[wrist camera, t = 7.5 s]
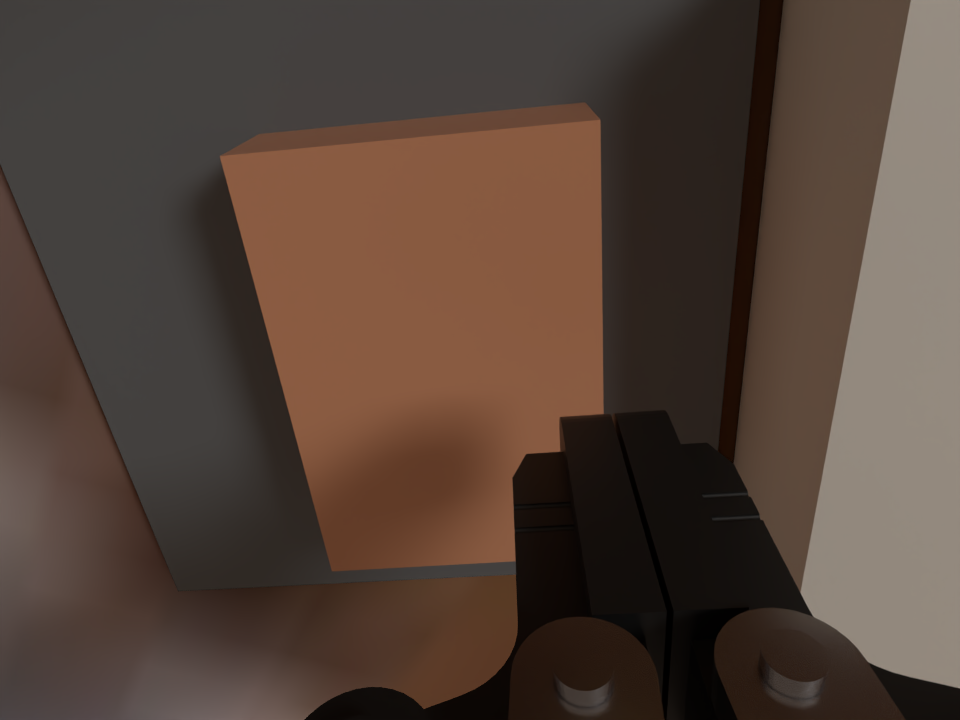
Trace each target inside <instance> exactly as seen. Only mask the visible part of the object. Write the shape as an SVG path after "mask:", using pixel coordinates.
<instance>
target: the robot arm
mask: <svg viewBox="0 0 960 720" xmlns="http://www.w3.org/2000/svg"><path fill="white" fill-rule="evenodd" d="M559 433H560V452H548V453H531V454H526V455H525V457H524V458H523V460H522V462H521V464H520V465H519V467H518V469H517V471H516V472H515V474H514V476H513V477H512V481H513V506H514V530H515V559H516V585H517V610H518V634H517V638H516V642H515V646H514V648H513V650H512V653H511V655H510V657H509V658H508V660H507V661H506V663H505V664H504V666H503V667H502V668H501V669H500V670H499V671H498V672H497V673H496V674H495V675H494V676H493V677H492V678H491V679H490V680H488V681H487V682H486V683H484V684H483V685H481V686H480V687H478V688H476V689H475V690H473V691H470V692H468V693H466V694H464V695H461V696H459V697H456V698H453V699H450V700H448V701H445V702H442V703H440V704H437V705H434V706H431V707H429V708H426V709H423V708H422V707H421V706H420V705H419V704H418V703H417V702H416V701H415V700H414V699H412V698H410V697H409V696H407V695H405V694H404V693H401V692H398V691H396V690H393V689H388V688H382V687H367V688H361V689H355V690H352V691H349V692H345V693H343V694H341V695H338V696H336V697H334V698H332V699H330V700H329V701H327V702H326V703H324V704H322V705H321V706H319V707H318V708H317V709H316V710H315V711H314V712H312V713H311V714H310V715H309V716H308V717H307V718H306V719H305V720H960V688H956V687H952V686H947V685H943V684H939V683H934V682H930V681H925V680H921V679H917V678H912V677H908V676H904V675H901V674H897V673H894V672H890V671H888V670H885V669H883V668H880V667H877V666H875V665H873V664H871V663H869V662H867V660H866V659H865V657H864V656H863V655H862V653H861V652H860V651H859V650H858V648H857V647H856V646H855V645H854V644H853V643H852V642H851V641H850V640H849V639H848V638H847V637H845V636H844V635H843V634H841V633H840V632H839V631H838V630H836V629H835V628H833V627H831V626H830V625H828V624H827V623H825V622H823V621H821V620H819V619H817V618H814V617H813V615H812V613H811V612H810V610H809V608H808V606H807V605H806V603H805V601H804V599H803V597H802V595H801V593H800V591H799V589H798V587H797V585H796V583H795V581H794V579H793V577H792V576H791V574H790V572H789V570H788V568H787V566H786V564H785V562H784V560H783V558H782V556H781V554H780V552H779V550H778V548H777V547H776V545H775V543H774V541H773V539H772V537H771V535H770V533H769V531H768V529H767V527H766V525H765V523H764V521H763V520H760V514H759V512H758V510H757V508H756V506H755V504H754V502H753V500H752V498H751V497H749V496H748V490H747V489H746V487H745V485H744V483H743V481H742V479H741V477H740V475H739V473H738V471H737V469H736V467H735V465H734V464H733V463H732V462H731V461H729V460H728V459H727V458H726V457H724V456H723V455H722V454H721V453H719V452H718V451H717V450H716V449H714V448H713V447H712V446H711V445H709V444H708V443H690V444H680V441H679V439H678V436H677V434H676V432H675V429H674V427H673V425H672V422H671V420H670V417H669V415H668V413H667V412H666V411H665V410H655V411H640V412H624V413H613V416H611V414H596V415H581V416H565V417H560V418H559Z"/></svg>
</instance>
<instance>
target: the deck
mask: <svg viewBox="0 0 960 720" xmlns="http://www.w3.org/2000/svg"><path fill="white" fill-rule="evenodd" d="M734 465H735V467H736V469H737V471H738V473H739V475H740V477H741V479H742V481H743V483H744V485H745V487H746V489H747V490H748V496H749V497H751V498H752V500H753V502H754V504H755V506H756V508H757V510H758V512H759V514H760V520H763V521H764V523H765V525H766V527H767V529H768V531H769V533H770V535H771V537H772V539H773V541H774V543H775V545H776V547H777V548H778V550H779V552H780V554H781V556H782V558H783V560H784V562H785V564H786V566H787V568H788V570H789V572H790V574H791V576H792V577H793V579H794V581H795V583H796V585H797V587H798V589H799V591H800V593H801V595H802V597H803V599H804V601H805V603H806V605H807V606H808V608H809V610H810V612H811V613H812V615H813V617H814V618H817V619H819V620H821V621H823V622H825V623H827V624H828V625H830V626H831V627H833V628H835V629H836V630H838V631H839V632H840V633H841V634H843V635H844V636H845V637H847V638H848V639H849V640H850V641H851V642H852V643H853V644H854V645H855V646H856V647H857V648H858V650H859V651H860V652H861V653H862V655H863V656H864V657H865V659H866V660H867V662H869V663H871V664H873V665H875V666H877V667H880V668H883V669H885V670H888V671H890V672H894V673H897V674H901V675H904V676H908V677H912V678H917V679H921V680H925V681H930V682H934V683H939V684H943V685H947V686H952V687H956V688H960V0H784V1H783V10H782V19H781V29H780V38H779V47H778V57H777V66H776V75H775V84H774V94H773V103H772V112H771V121H770V131H769V140H768V149H767V158H766V168H765V177H764V186H763V195H762V205H761V214H760V223H759V233H758V242H757V251H756V260H755V270H754V279H753V288H752V297H751V307H750V316H749V325H748V334H747V344H746V353H745V362H744V371H743V381H742V390H741V399H740V409H739V418H738V427H737V436H736V446H735V455H734Z"/></svg>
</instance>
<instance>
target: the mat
mask: <svg viewBox="0 0 960 720" xmlns="http://www.w3.org/2000/svg"><path fill="white" fill-rule="evenodd" d="M759 6H760V0H0V165H1V167H2V170H3V172H4V174H5V177H6V179H7V182H8V184H9V186H10V189H11V191H12V194H13V196H14V198H15V201H16V203H17V206H18V208H19V210H20V213H21V215H22V218H23V220H24V222H25V225H26V227H27V230H28V232H29V234H30V237H31V239H32V242H33V244H34V246H35V249H36V251H37V254H38V256H39V258H40V261H41V263H42V266H43V268H44V270H45V273H46V275H47V278H48V280H49V282H50V285H51V287H52V290H53V292H54V294H55V297H56V299H57V302H58V304H59V306H60V309H61V311H62V314H63V316H64V318H65V321H66V323H67V326H68V328H69V330H70V333H71V335H72V338H73V340H74V342H75V345H76V347H77V350H78V352H79V354H80V357H81V359H82V362H83V364H84V366H85V369H86V371H87V374H88V376H89V378H90V381H91V383H92V386H93V388H94V391H95V393H96V395H97V398H98V400H99V403H100V405H101V407H102V410H103V412H104V415H105V417H106V419H107V422H108V424H109V427H110V429H111V431H112V434H113V436H114V439H115V441H116V443H117V446H118V448H119V451H120V453H121V455H122V458H123V460H124V463H125V465H126V467H127V470H128V472H129V475H130V477H131V479H132V482H133V484H134V487H135V489H136V491H137V494H138V496H139V499H140V501H141V503H142V506H143V508H144V511H145V513H146V515H147V518H148V520H149V523H150V525H151V527H152V530H153V532H154V535H155V537H156V539H157V542H158V544H159V547H160V549H161V551H162V554H163V556H164V559H165V561H166V563H167V566H168V568H169V571H170V573H171V575H172V578H173V580H174V583H175V585H176V587H177V590H178V591H192V590H212V589H232V588H253V587H273V586H293V585H313V584H333V583H353V582H373V581H393V580H413V579H433V578H453V577H473V576H493V575H513V574H516V561H512V562H494V563H476V564H458V565H440V566H422V567H403V568H385V569H367V570H349V571H332V570H331V566H330V562H329V559H328V555H327V551H326V548H325V544H324V540H323V537H322V533H321V529H320V525H319V522H318V518H317V514H316V511H315V507H314V503H313V500H312V496H311V492H310V488H309V485H308V481H307V477H306V474H305V470H304V466H303V463H302V459H301V455H300V451H299V448H298V444H297V440H296V437H295V433H294V429H293V425H292V422H291V418H290V414H289V411H288V407H287V403H286V400H285V396H284V392H283V388H282V385H281V381H280V377H279V374H278V370H277V366H276V363H275V359H274V355H273V351H272V348H271V344H270V340H269V337H268V333H267V329H266V326H265V322H264V318H263V314H262V311H261V307H260V303H259V300H258V296H257V292H256V289H255V285H254V281H253V277H252V274H251V270H250V266H249V263H248V259H247V255H246V252H245V248H244V244H243V240H242V237H241V233H240V229H239V226H238V222H237V218H236V214H235V211H234V207H233V203H232V200H231V196H230V192H229V189H228V185H227V181H226V177H225V174H224V170H223V166H222V163H221V159H220V156H221V155H223V154H224V153H226V152H228V151H230V150H232V149H233V148H235V147H237V146H239V145H240V144H242V143H244V142H246V141H248V140H249V139H251V138H253V137H255V136H256V135H258V134H265V133H275V132H286V131H296V130H306V129H316V128H327V127H337V126H347V125H357V124H368V123H378V122H388V121H398V120H409V119H419V118H429V117H439V116H450V115H460V114H470V113H480V112H491V111H501V110H511V109H521V108H532V107H542V106H552V105H562V104H573V103H583V102H585V103H586V104H587V105H588V106H589V107H590V108H591V110H592V111H593V112H594V113H595V114H596V115H597V116H598V117H599V119H600V125H601V219H602V313H603V407H604V414H611V416H613V413H624V412H640V411H655V410H665V411H666V412H667V413H668V415H669V417H670V420H671V422H672V425H673V427H674V429H675V432H676V434H677V436H678V439H679V441H680V444H690V443H708V444H709V445H711V446H712V447H713V448H714V449H716V450H717V451H718V445H719V434H720V424H721V413H722V402H723V392H724V381H725V370H726V359H727V349H728V338H729V327H730V317H731V306H732V295H733V285H734V274H735V263H736V252H737V242H738V231H739V220H740V210H741V199H742V188H743V178H744V167H745V156H746V145H747V135H748V124H749V113H750V103H751V92H752V81H753V71H754V60H755V49H756V39H757V28H758V17H759Z"/></svg>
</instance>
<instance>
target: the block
mask: <svg viewBox="0 0 960 720" xmlns="http://www.w3.org/2000/svg"><path fill="white" fill-rule="evenodd" d="M220 159H221V163H222V166H223V170H224V174H225V177H226V181H227V185H228V189H229V192H230V196H231V200H232V203H233V207H234V211H235V214H236V218H237V222H238V226H239V229H240V233H241V237H242V240H243V244H244V248H245V252H246V255H247V259H248V263H249V266H250V270H251V274H252V277H253V281H254V285H255V289H256V292H257V296H258V300H259V303H260V307H261V311H262V314H263V318H264V322H265V326H266V329H267V333H268V337H269V340H270V344H271V348H272V351H273V355H274V359H275V363H276V366H277V370H278V374H279V377H280V381H281V385H282V388H283V392H284V396H285V400H286V403H287V407H288V411H289V414H290V418H291V422H292V425H293V429H294V433H295V437H296V440H297V444H298V448H299V451H300V455H301V459H302V463H303V466H304V470H305V474H306V477H307V481H308V485H309V488H310V492H311V496H312V500H313V503H314V507H315V511H316V514H317V518H318V522H319V525H320V529H321V533H322V537H323V540H324V544H325V548H326V551H327V555H328V559H329V562H330V566H331V570H332V571H349V570H367V569H385V568H403V567H422V566H440V565H458V564H476V563H494V562H512V561H516V559H515V530H514V506H513V481H512V477H513V476H514V474H515V472H516V471H517V469H518V467H519V465H520V464H521V462H522V460H523V458H524V457H525V455H526V454H531V453H548V452H560V433H559V418H560V417H565V416H581V415H596V414H604V407H603V313H602V219H601V125H600V119H599V117H598V116H597V115H596V114H595V113H594V112H593V111H592V110H591V108H590V107H589V106H588V105H587V104H586V103H585V102H583V103H573V104H562V105H552V106H542V107H532V108H521V109H511V110H501V111H491V112H480V113H470V114H460V115H450V116H439V117H429V118H419V119H409V120H398V121H388V122H378V123H368V124H357V125H347V126H337V127H327V128H316V129H306V130H296V131H286V132H275V133H265V134H258V135H256V136H255V137H253V138H251V139H249V140H248V141H246V142H244V143H242V144H240V145H239V146H237V147H235V148H233V149H232V150H230V151H228V152H226V153H224V154H223V155H221V156H220Z"/></svg>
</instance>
